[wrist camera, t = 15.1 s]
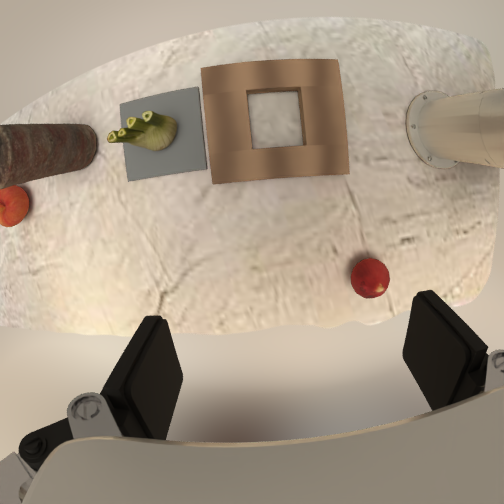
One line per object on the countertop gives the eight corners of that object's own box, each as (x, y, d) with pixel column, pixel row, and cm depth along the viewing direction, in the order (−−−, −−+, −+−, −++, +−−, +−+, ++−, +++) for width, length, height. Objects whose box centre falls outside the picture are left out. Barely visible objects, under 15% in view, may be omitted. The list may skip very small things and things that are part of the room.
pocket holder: (332, 65, 34) (337, 59, 31) (343, 172, 39) (349, 174, 36) (204, 73, 35) (200, 68, 32) (215, 182, 40) (212, 184, 37)
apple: (14, 219, 42) (-13, 230, 35) (12, 181, 40) (-17, 189, 32) (37, 221, 42) (9, 233, 35) (35, 181, 40) (6, 188, 32)
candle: (108, 152, 39) (17, 162, 20) (77, 179, 40) (-13, 206, 21) (87, 115, 36) (-4, 107, 18) (58, 144, 38) (-32, 153, 19)
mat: (198, 87, 35) (197, 86, 35) (207, 169, 39) (206, 169, 39) (121, 104, 36) (119, 104, 36) (129, 181, 40) (128, 181, 39)
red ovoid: (365, 291, 45) (382, 316, 38) (338, 275, 44) (352, 300, 37) (385, 262, 43) (406, 283, 36) (359, 244, 43) (378, 264, 35)
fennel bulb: (182, 116, 36) (153, 104, 25) (180, 150, 38) (150, 151, 27) (143, 118, 36) (103, 109, 25) (142, 151, 38) (101, 153, 27)
